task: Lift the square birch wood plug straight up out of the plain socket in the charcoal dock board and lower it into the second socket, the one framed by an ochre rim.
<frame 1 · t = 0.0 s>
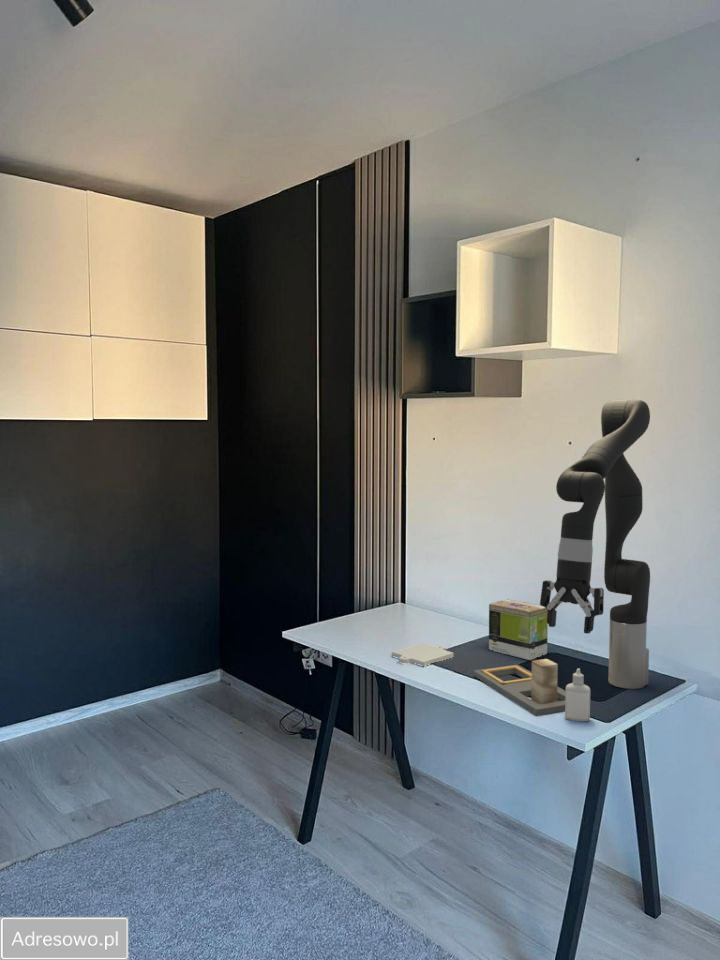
hand: (569, 629, 170), 22 cm above the table, tool pointing down, fingers open, 8 cm apart
eye dropper bottle: (577, 719, 175), on the table
plug: (544, 701, 186), resting in dock
tea box: (517, 652, 226), on the table
mounting plate: (422, 659, 222), on the table
dock: (526, 690, 194), on the table
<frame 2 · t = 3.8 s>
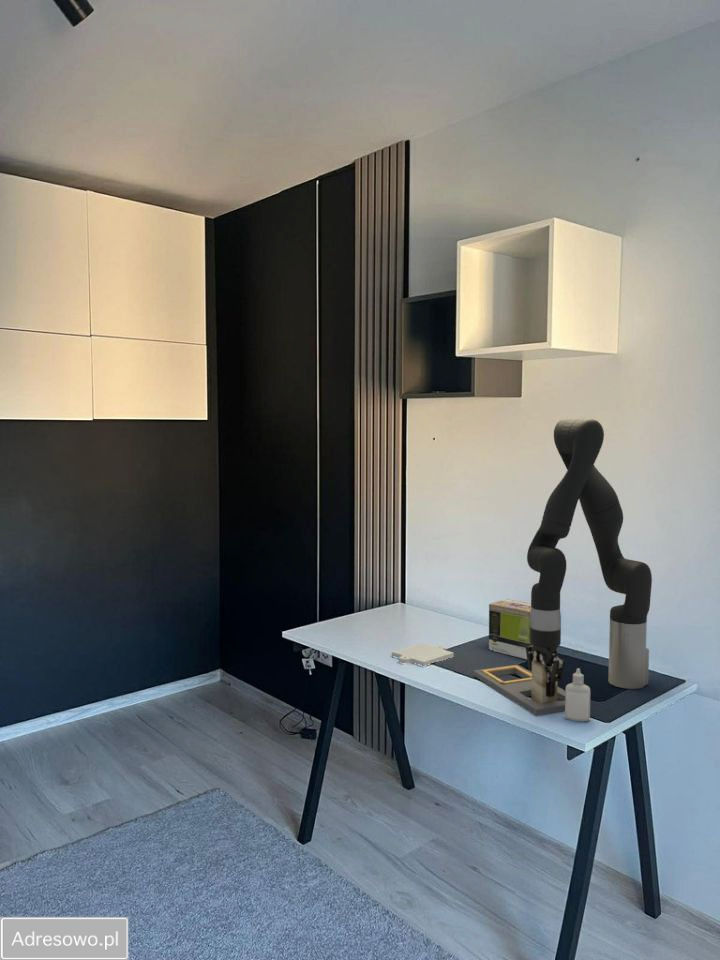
hand: (544, 692, 186), 2 cm above the table, tool pointing down, fingers closed on plug, 4 cm apart
plug: (544, 701, 186), resting in dock, touching gripper
everything else where it was.
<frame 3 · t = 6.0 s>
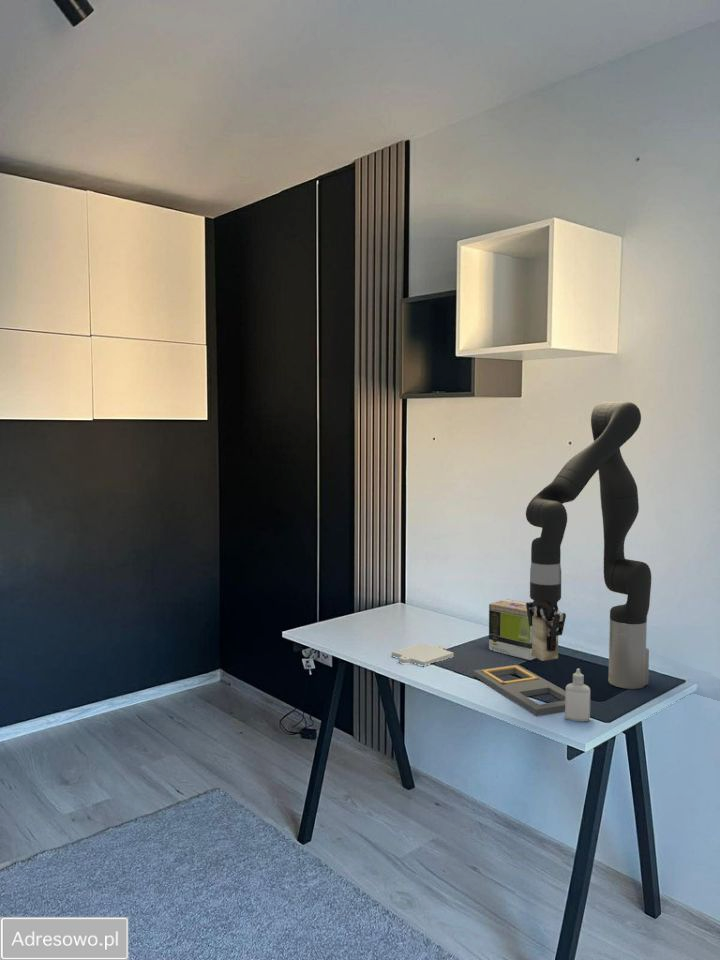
hand: (545, 647, 185), 14 cm above the table, tool pointing down, fingers closed on plug, 4 cm apart
plug: (544, 657, 185), point 11 cm above the table, touching gripper
everything else where it was.
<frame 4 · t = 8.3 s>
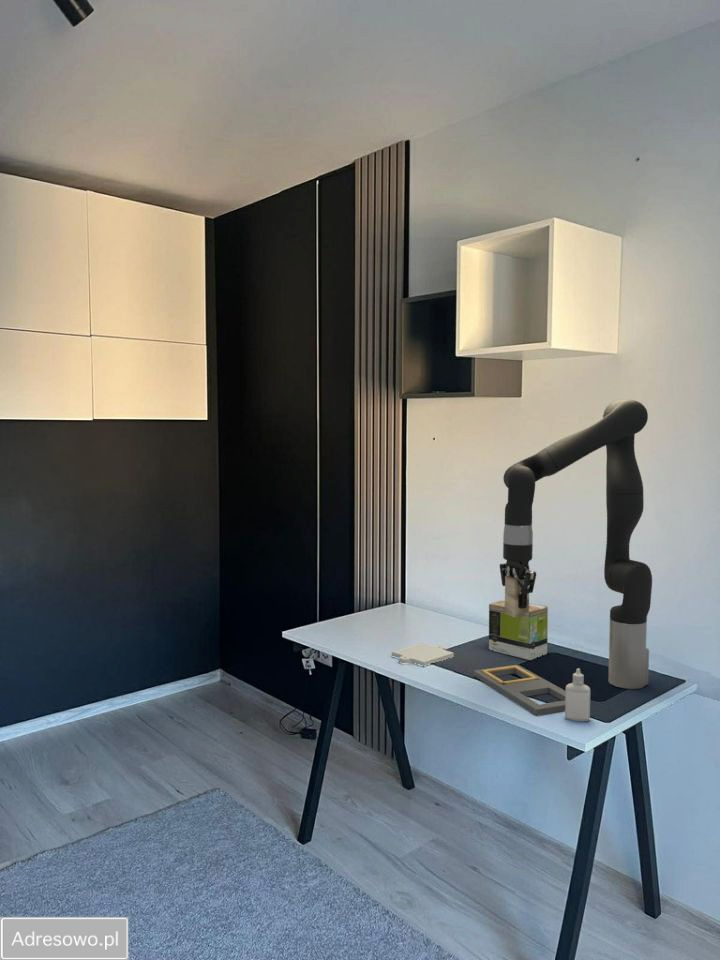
hand: (516, 605, 196), 21 cm above the table, tool pointing down, fingers closed on plug, 4 cm apart
plug: (516, 614, 196), point 19 cm above the table, touching gripper
everything else where it was.
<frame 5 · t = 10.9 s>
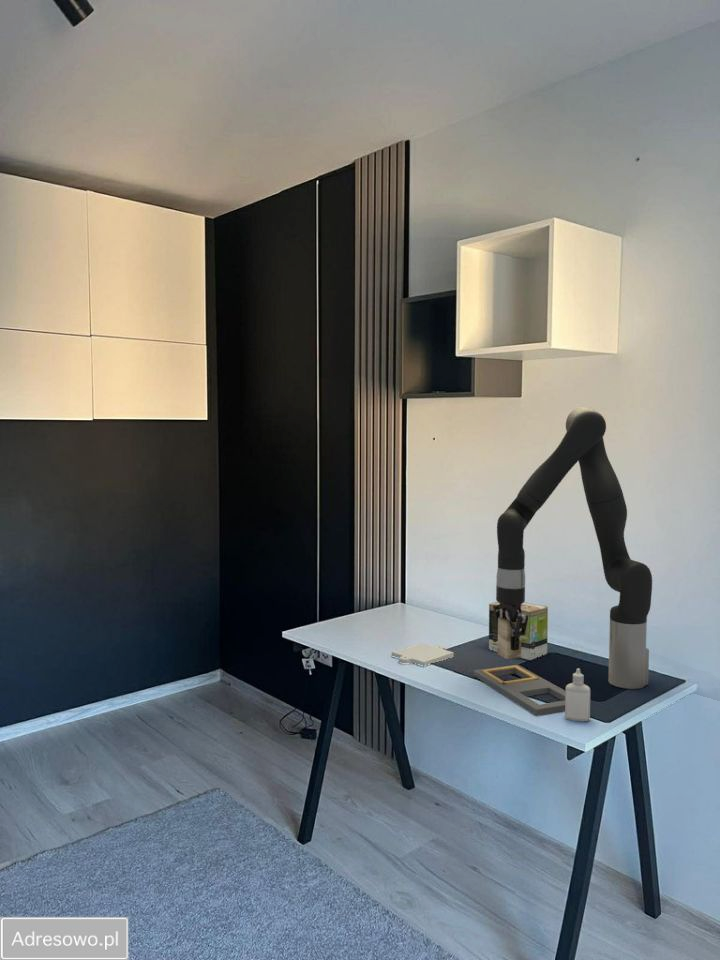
hand: (509, 646, 200), 9 cm above the table, tool pointing down, fingers closed on plug, 4 cm apart
plug: (509, 655, 200), point 7 cm above the table, touching gripper
everything else where it was.
when the fingers open (3 cm above the table, at t = 13.0 s): plug stays where it is, resting in dock.
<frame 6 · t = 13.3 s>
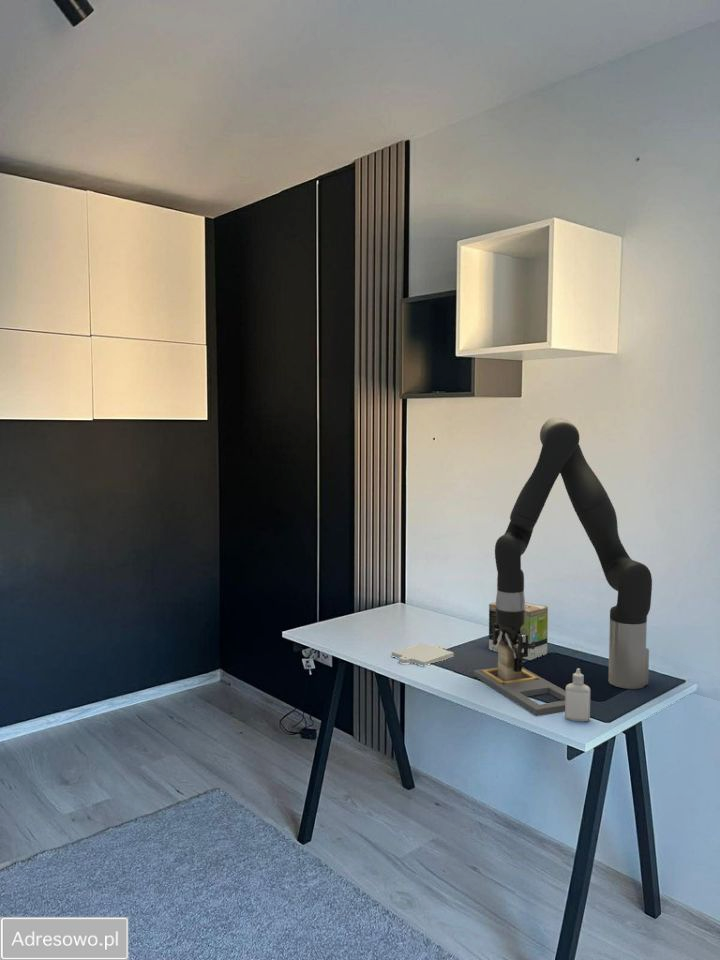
hand: (509, 666, 201), 4 cm above the table, tool pointing down, fingers open, 7 cm apart
plug: (509, 681, 201), resting in dock
everything else where it was.
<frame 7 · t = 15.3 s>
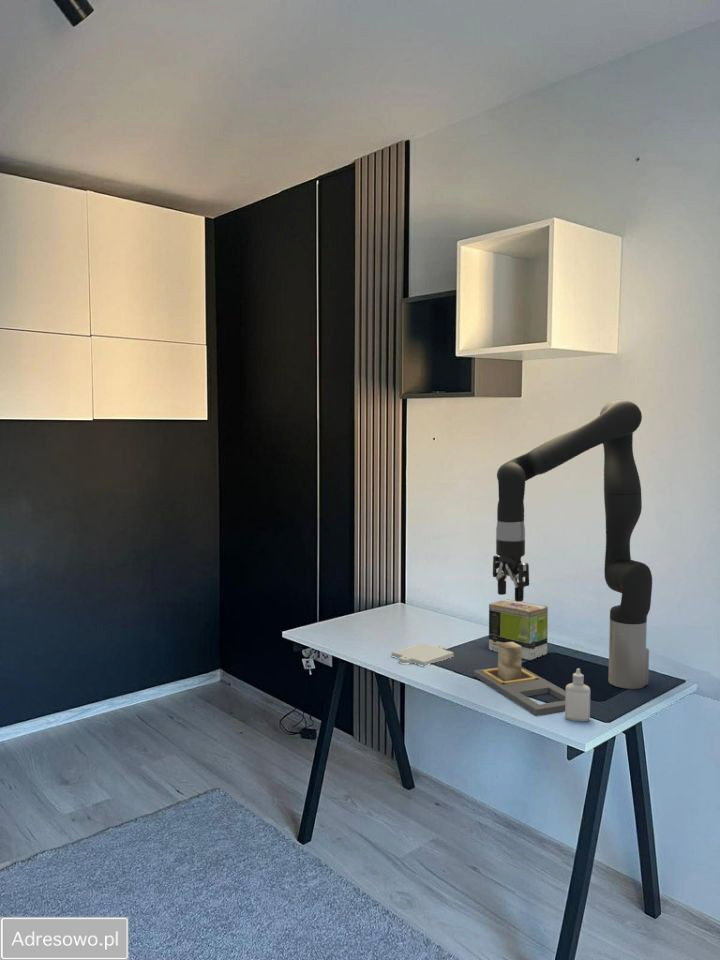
hand: (510, 597, 199), 23 cm above the table, tool pointing down, fingers open, 8 cm apart
nothing on the table moved.
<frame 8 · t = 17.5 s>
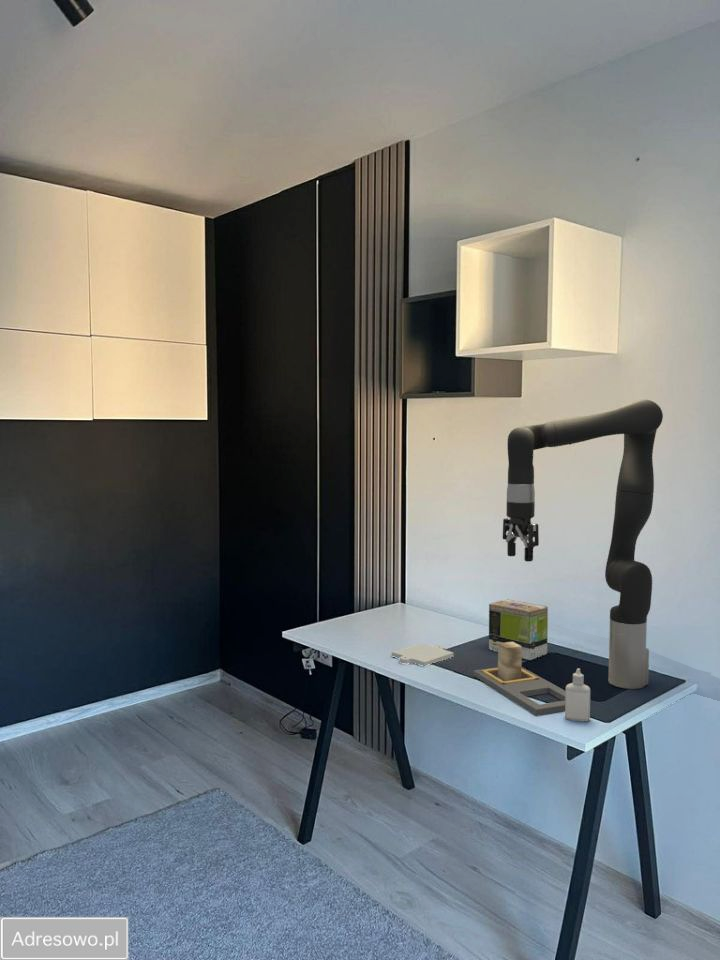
hand: (519, 558, 205), 32 cm above the table, tool pointing down, fingers open, 8 cm apart
nothing on the table moved.
at the end: plug 0.1 cm from the target spot on the dock, point 0.0 cm above the dock's base; plug tilted 0°; the gripper is holding nothing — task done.
